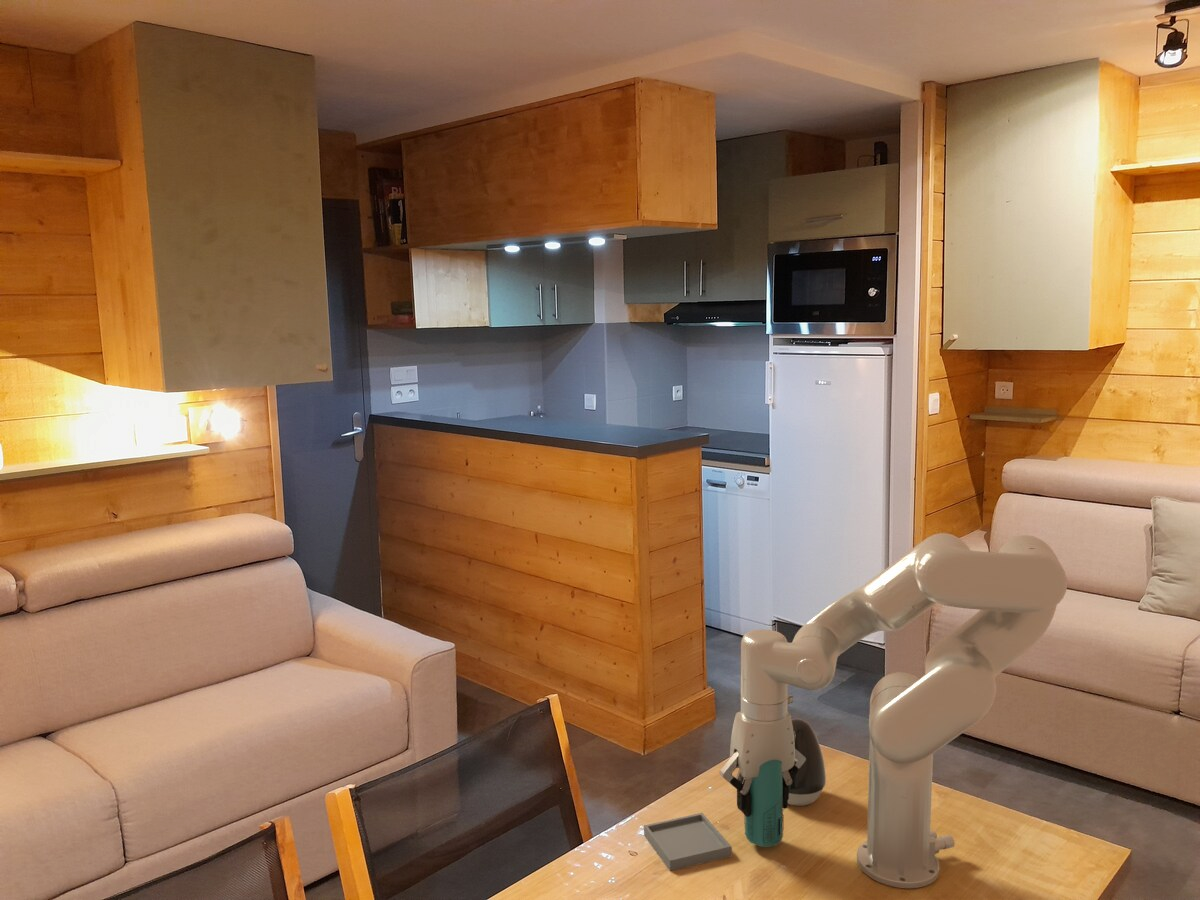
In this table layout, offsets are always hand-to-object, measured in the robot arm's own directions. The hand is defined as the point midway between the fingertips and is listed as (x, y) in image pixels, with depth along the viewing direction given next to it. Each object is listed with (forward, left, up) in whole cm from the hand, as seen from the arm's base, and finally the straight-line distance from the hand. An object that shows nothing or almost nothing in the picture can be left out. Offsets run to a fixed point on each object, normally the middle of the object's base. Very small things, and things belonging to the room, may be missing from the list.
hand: (762, 807), depth 154 cm
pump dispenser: (-13, -11, -7) cm, 18 cm away
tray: (+12, -4, -7) cm, 14 cm away
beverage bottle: (0, 0, -7) cm, 7 cm away
